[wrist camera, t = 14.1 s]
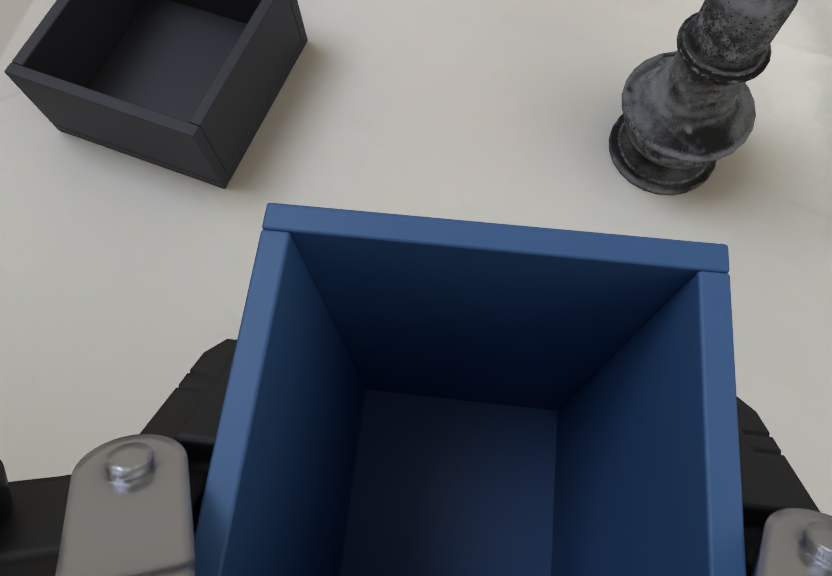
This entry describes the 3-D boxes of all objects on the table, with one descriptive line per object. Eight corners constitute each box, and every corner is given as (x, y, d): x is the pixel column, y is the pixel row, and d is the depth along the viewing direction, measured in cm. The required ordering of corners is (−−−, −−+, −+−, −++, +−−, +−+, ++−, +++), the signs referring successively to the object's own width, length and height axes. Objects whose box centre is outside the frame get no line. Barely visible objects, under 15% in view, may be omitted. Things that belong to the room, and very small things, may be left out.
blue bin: (561, 643, 16) (762, 817, 6) (320, 611, 16) (151, 726, 7) (569, 400, 18) (729, 243, 8) (355, 378, 18) (265, 201, 9)
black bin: (225, 189, 32) (193, 136, 28) (58, 130, 34) (3, 71, 30) (308, 40, 36) (290, -28, 31) (151, -8, 37) (114, -80, 33)
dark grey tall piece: (648, 79, 34) (754, -144, 23) (746, 143, 33) (911, -61, 21) (578, 151, 33) (655, -48, 21) (677, 222, 31) (814, 48, 20)
